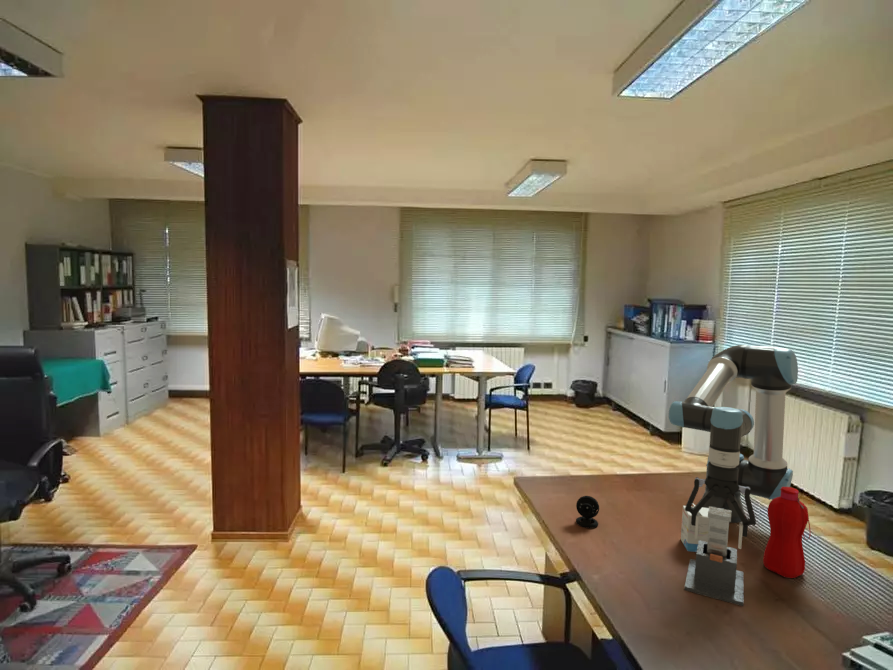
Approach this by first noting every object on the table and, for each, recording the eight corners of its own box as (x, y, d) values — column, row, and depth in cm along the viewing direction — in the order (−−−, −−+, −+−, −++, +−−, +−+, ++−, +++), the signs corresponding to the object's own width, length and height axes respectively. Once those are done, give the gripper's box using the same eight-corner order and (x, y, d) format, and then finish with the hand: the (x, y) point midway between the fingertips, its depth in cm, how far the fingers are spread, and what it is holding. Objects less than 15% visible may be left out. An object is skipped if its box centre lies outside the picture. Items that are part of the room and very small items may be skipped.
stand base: (690, 561, 158) (692, 529, 158) (743, 575, 152) (745, 541, 151) (684, 589, 143) (686, 554, 142) (743, 606, 136) (746, 569, 135)
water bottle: (796, 585, 147) (804, 498, 145) (758, 566, 157) (764, 485, 155) (815, 577, 152) (822, 493, 150) (776, 560, 161) (783, 480, 159)
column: (704, 571, 151) (709, 506, 150) (726, 576, 148) (731, 510, 147) (703, 580, 146) (708, 513, 145) (725, 586, 143) (731, 517, 142)
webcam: (573, 526, 181) (575, 497, 180) (576, 517, 188) (578, 490, 187) (597, 530, 178) (598, 501, 177) (599, 522, 185) (600, 494, 184)
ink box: (715, 554, 164) (718, 512, 163) (686, 551, 165) (689, 509, 164) (707, 542, 172) (710, 502, 171) (680, 539, 174) (682, 499, 173)
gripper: (677, 459, 147) (672, 536, 149) (772, 475, 136) (765, 558, 138) (680, 453, 154) (675, 526, 155) (770, 467, 142) (764, 547, 144)
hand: (717, 541), depth 146 cm, fingers open, 10 cm apart
